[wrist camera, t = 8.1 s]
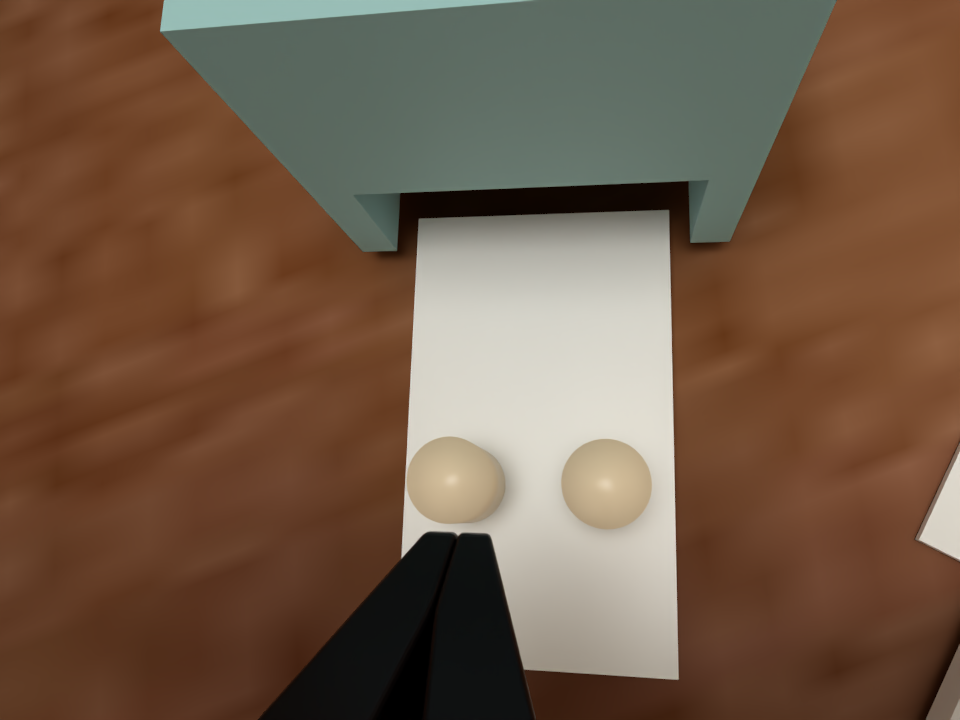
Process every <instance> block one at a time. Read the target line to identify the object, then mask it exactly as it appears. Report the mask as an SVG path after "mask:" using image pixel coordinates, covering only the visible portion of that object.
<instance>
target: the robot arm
mask: <svg viewBox="0 0 960 720" xmlns="http://www.w3.org/2000/svg"><path fill="white" fill-rule="evenodd" d="M258 720H536V717H535V712H534V708H533V704H532V700H531V696H530V692H529V688H528V684H527V680H526V676H525V672H524V668H523V664H522V660H521V656H520V651H519V647H518V643H517V639H516V635H515V631H514V627H513V623H512V619H511V615H510V611H509V607H508V603H507V599H506V595H505V590H504V586H503V582H502V578H501V574H500V570H499V566H498V562H497V558H496V554H495V550H494V546H493V542H492V538H491V536H490V535H489V534H488V533H471V532H463V533H461V534H459V535H457V534H456V533H454V532H443V531H428V532H426V533H424V534H423V535H422V536H421V537H420V538H419V539H418V540H417V542H416V543H415V544H414V545H413V546H412V547H411V548H410V549H409V551H408V552H407V553H406V554H405V555H404V556H403V557H402V558H401V560H400V561H399V562H398V563H397V564H396V565H395V566H394V567H393V569H392V570H391V571H390V572H389V573H388V574H387V575H386V576H385V577H384V579H383V580H382V581H381V582H380V583H379V584H378V585H377V586H376V588H375V589H374V590H373V591H372V592H371V593H370V594H369V595H368V597H367V598H366V599H365V600H364V601H363V602H362V603H361V604H360V605H359V607H358V608H357V609H356V610H355V611H354V612H353V613H352V614H351V616H350V617H349V618H348V619H347V620H346V621H345V622H344V623H343V625H342V626H341V627H340V628H339V629H338V630H337V631H336V632H335V633H334V635H333V636H332V637H331V638H330V639H329V640H328V641H327V642H326V644H325V645H324V646H323V647H322V648H321V649H320V650H319V651H318V653H317V654H316V655H315V656H314V657H313V658H312V659H311V660H310V661H309V663H308V664H307V665H306V666H305V667H304V668H303V669H302V670H301V672H300V673H299V674H298V675H297V676H296V677H295V678H294V679H293V681H292V682H291V683H290V684H289V685H288V686H287V687H286V688H285V689H284V691H283V692H282V693H281V694H280V695H279V696H278V697H277V698H276V700H275V701H274V702H273V703H272V704H271V705H270V706H269V707H268V709H267V710H266V711H265V712H264V713H263V714H262V715H261V716H260V718H259V719H258Z"/></svg>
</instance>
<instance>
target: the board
mask: <svg viewBox="0 0 960 720" xmlns="http://www.w3.org/2000/svg"><path fill="white" fill-rule="evenodd" d="M428 531H443V532H454V533H456V534H457V535H459V534H461V533H463V532H471V533H488V534H489V535H490V536H491V538H492V542H493V546H494V550H495V554H496V558H497V562H498V566H499V570H500V574H501V578H502V582H503V586H504V590H505V595H506V599H507V603H508V607H509V611H510V615H511V619H512V623H513V627H514V631H515V635H516V639H517V643H518V647H519V651H520V656H521V660H522V664H523V668H524V670H539V671H554V672H569V673H584V674H599V675H614V676H629V677H644V678H659V679H674V680H679V674H678V625H677V576H676V527H675V478H674V428H673V379H672V330H671V281H670V232H669V210H650V211H622V212H593V213H565V214H536V215H508V216H479V217H450V218H422V219H419V223H418V243H417V262H416V282H415V302H414V321H413V341H412V361H411V380H410V400H409V420H408V439H407V459H406V479H405V499H404V518H403V538H402V557H403V556H404V555H405V554H406V553H407V552H408V551H409V549H410V548H411V547H412V546H413V545H414V544H415V543H416V542H417V540H418V539H419V538H420V537H421V536H422V535H423V534H424V533H426V532H428Z"/></svg>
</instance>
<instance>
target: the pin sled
mask: <svg viewBox="0 0 960 720" xmlns="http://www.w3.org/2000/svg"><path fill="white" fill-rule="evenodd" d="M926 720H960V644H959V647H958V649H957V651H956V653H955V655H954V658H953V660H952V662H951V664H950V667H949V669H948V671H947V673H946V675H945V678H944V680H943V682H942V684H941V687H940V689H939V691H938V693H937V695H936V698H935V700H934V702H933V704H932V707H931V709H930V711H929V713H928V716H927V718H926Z"/></svg>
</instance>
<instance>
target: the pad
mask: <svg viewBox="0 0 960 720" xmlns="http://www.w3.org/2000/svg"><path fill="white" fill-rule="evenodd" d="M915 540H917V541H919V542H921V543H923V544H925V545H927V546H929V547H931V548H933V549H935V550H937V551H939V552H941V553H943V554H945V555H947V556H949V557H951V558H953V559H955V560H957V561H959V562H960V443H959V445H958V447H957V450H956V452H955V454H954V456H953V458H952V460H951V463H950V465H949V467H948V469H947V471H946V473H945V475H944V478H943V480H942V482H941V484H940V486H939V488H938V491H937V493H936V495H935V497H934V499H933V501H932V504H931V506H930V508H929V510H928V512H927V514H926V516H925V519H924V521H923V523H922V525H921V527H920V529H919V532H918V534H917V536H916V538H915Z"/></svg>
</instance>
